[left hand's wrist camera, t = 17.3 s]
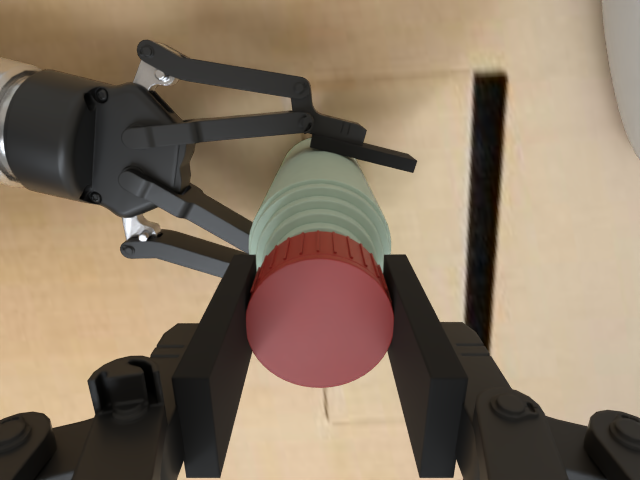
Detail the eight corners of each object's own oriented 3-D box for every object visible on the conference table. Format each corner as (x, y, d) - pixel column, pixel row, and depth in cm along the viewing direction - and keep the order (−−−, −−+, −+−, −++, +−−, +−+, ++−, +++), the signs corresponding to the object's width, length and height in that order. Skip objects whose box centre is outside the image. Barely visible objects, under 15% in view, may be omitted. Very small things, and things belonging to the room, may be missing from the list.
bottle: (291, 223, 34) (252, 413, 14) (270, 147, 32) (189, 248, 12) (366, 205, 34) (434, 377, 14) (350, 127, 32) (402, 198, 12)
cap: (317, 201, 14) (317, 224, 11) (411, 288, 15) (428, 325, 13) (228, 292, 15) (211, 329, 13) (321, 366, 16) (321, 413, 14)
